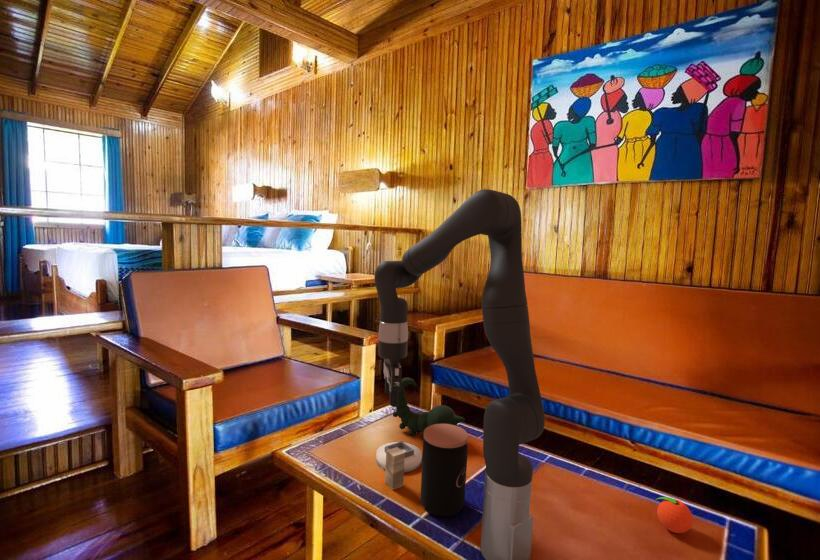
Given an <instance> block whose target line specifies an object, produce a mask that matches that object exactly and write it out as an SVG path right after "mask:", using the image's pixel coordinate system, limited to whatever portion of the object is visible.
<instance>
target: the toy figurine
mask: <svg viewBox="0 0 820 560" xmlns="http://www.w3.org/2000/svg"><path fill="white" fill-rule="evenodd" d="M408 385H411V386H414V387H417V386H418V385H417V382H416V381H415V380H414V379H413V378H412V377H403V378H402V390H401V391H400V392H399V405H398V406H391V407H393V408H395V410H396V411H393V412H392V417H393V418H397V417H398V418H400V422H401V423H399V429H401V430H404V429H406V428H408V430H409V435H410V436H411V437H414V436H416V434H419V433H420V437H421V438H422V439H424V430H425V429H426V428H427V427H429V426H431V425H434V424H451V425H455V426H457V425H458V424H460V423H462V422H465V421H466V418H465V417H462V416H460V415H458V414H456V412H455V411H454V409H453V408H451V407H450V406H448V405H444V404H440V405H436V406H434V407H432V408H431V409H430V411H424V412H421V413H420V412H413V411H411V408H410V407H409V404H408V400H407V398H406V395H407V393H406V391H405V387H407V386H408ZM394 387H397V383H394Z"/></svg>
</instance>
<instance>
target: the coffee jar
mask: <svg viewBox="0 0 820 560" xmlns="http://www.w3.org/2000/svg"><path fill="white" fill-rule="evenodd" d="M468 441H469V434H468V432H467V431H466V430H465V429H464V428H463V427H460V426H455V425H451V424H434V425H431V426H429V427H427V428H426V429H425V430H424V438H423V440H422V462H421V481H420V498H419V501H420V503H421V505H422V507H424V510H425V511H426V512H428V513H429V514H431V515H433V516H436V517H439V518H440V517H443V518H447V517H453V516H455V515H457V514H458V513H460V512H461V510H462V509H463V507H464V505H465V500H466V482H467V467H468V452H469V451H468V450H469V447H468Z"/></svg>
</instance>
